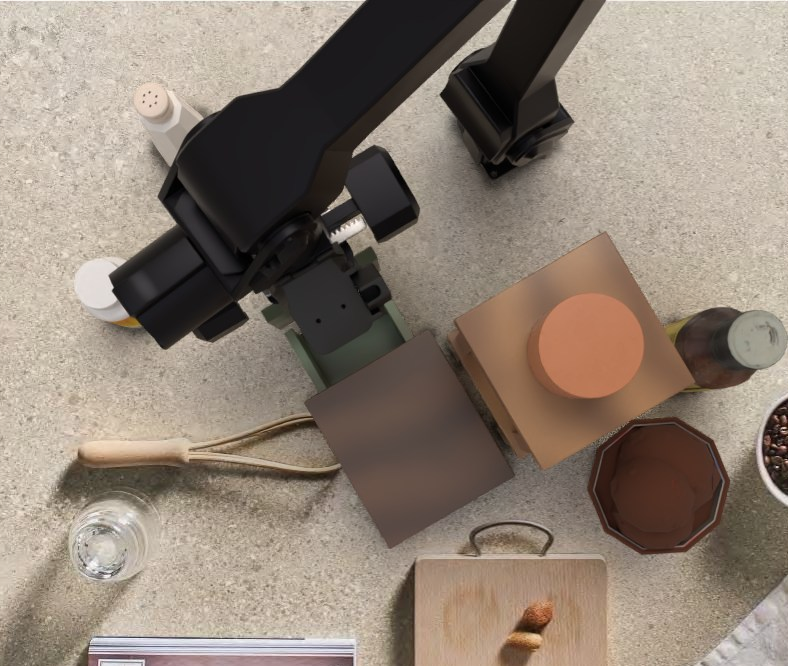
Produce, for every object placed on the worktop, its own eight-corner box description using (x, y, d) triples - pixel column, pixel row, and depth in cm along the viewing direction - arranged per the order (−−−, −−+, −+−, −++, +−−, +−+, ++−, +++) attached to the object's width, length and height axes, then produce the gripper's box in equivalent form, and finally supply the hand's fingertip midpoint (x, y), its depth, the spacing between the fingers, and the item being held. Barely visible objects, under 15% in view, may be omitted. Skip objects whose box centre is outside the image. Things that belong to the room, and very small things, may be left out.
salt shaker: (227, 132, 79) (198, 88, 68) (195, 182, 79) (160, 147, 68) (176, 100, 79) (139, 51, 68) (144, 151, 79) (101, 110, 68)
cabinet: (315, 402, 79) (303, 402, 70) (426, 336, 79) (429, 328, 70) (391, 533, 78) (389, 549, 70) (504, 468, 78) (515, 476, 70)
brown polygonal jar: (651, 560, 78) (708, 597, 63) (543, 493, 78) (575, 514, 63) (714, 459, 78) (786, 471, 63) (607, 392, 78) (653, 389, 63)
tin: (592, 285, 55) (610, 273, 50) (641, 368, 55) (664, 364, 50) (508, 333, 55) (518, 326, 50) (557, 416, 55) (572, 417, 50)
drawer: (248, 277, 78) (233, 265, 71) (349, 217, 78) (344, 199, 71) (344, 440, 78) (337, 443, 71) (445, 381, 78) (449, 378, 71)
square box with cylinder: (547, 283, 78) (606, 230, 55) (610, 389, 78) (696, 382, 55) (441, 345, 79) (454, 319, 55) (503, 451, 78) (543, 471, 55)
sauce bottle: (722, 336, 78) (828, 312, 58) (700, 402, 78) (798, 401, 58) (652, 311, 78) (734, 280, 58) (629, 378, 78) (704, 369, 58)
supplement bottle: (159, 334, 79) (124, 324, 69) (101, 322, 79) (58, 310, 69) (171, 275, 79) (138, 257, 69) (113, 263, 79) (72, 243, 69)
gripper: (215, 404, 57) (257, 404, 72) (464, 258, 57) (452, 290, 72) (129, 256, 57) (189, 288, 73) (377, 110, 57) (384, 174, 72)
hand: (305, 263), depth 72 cm, fingers closed
